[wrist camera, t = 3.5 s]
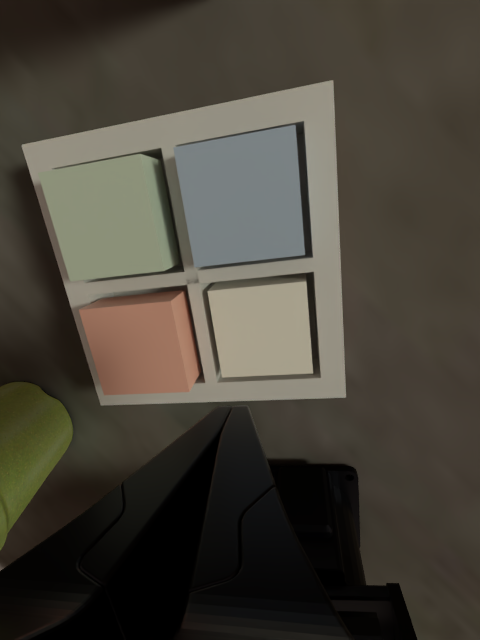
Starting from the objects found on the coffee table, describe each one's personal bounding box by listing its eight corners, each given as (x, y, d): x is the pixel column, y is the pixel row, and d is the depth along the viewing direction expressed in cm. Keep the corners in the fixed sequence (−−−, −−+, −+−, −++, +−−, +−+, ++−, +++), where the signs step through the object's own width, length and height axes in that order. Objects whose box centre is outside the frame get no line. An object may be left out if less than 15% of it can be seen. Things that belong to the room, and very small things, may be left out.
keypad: (339, 371, 18) (346, 397, 16) (123, 381, 21) (100, 405, 18) (326, 101, 14) (333, 79, 12) (61, 153, 17) (21, 144, 14)
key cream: (311, 355, 17) (313, 373, 15) (229, 359, 18) (222, 377, 16) (304, 272, 16) (306, 281, 14) (217, 281, 17) (207, 291, 15)
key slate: (303, 248, 14) (305, 255, 13) (206, 259, 15) (194, 267, 13) (295, 136, 13) (295, 124, 11) (189, 155, 14) (173, 147, 12)
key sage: (180, 263, 15) (164, 270, 14) (95, 272, 16) (70, 281, 14) (160, 160, 14) (140, 153, 12) (69, 176, 15) (37, 172, 13)
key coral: (200, 371, 17) (189, 391, 15) (123, 375, 18) (104, 395, 16) (185, 289, 16) (170, 301, 14) (102, 298, 17) (78, 309, 15)
